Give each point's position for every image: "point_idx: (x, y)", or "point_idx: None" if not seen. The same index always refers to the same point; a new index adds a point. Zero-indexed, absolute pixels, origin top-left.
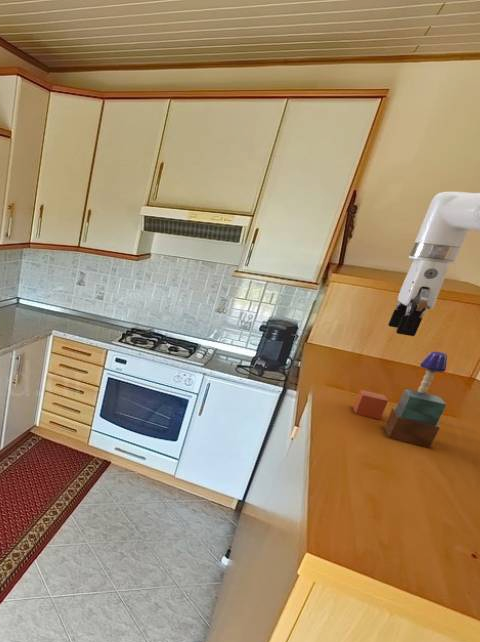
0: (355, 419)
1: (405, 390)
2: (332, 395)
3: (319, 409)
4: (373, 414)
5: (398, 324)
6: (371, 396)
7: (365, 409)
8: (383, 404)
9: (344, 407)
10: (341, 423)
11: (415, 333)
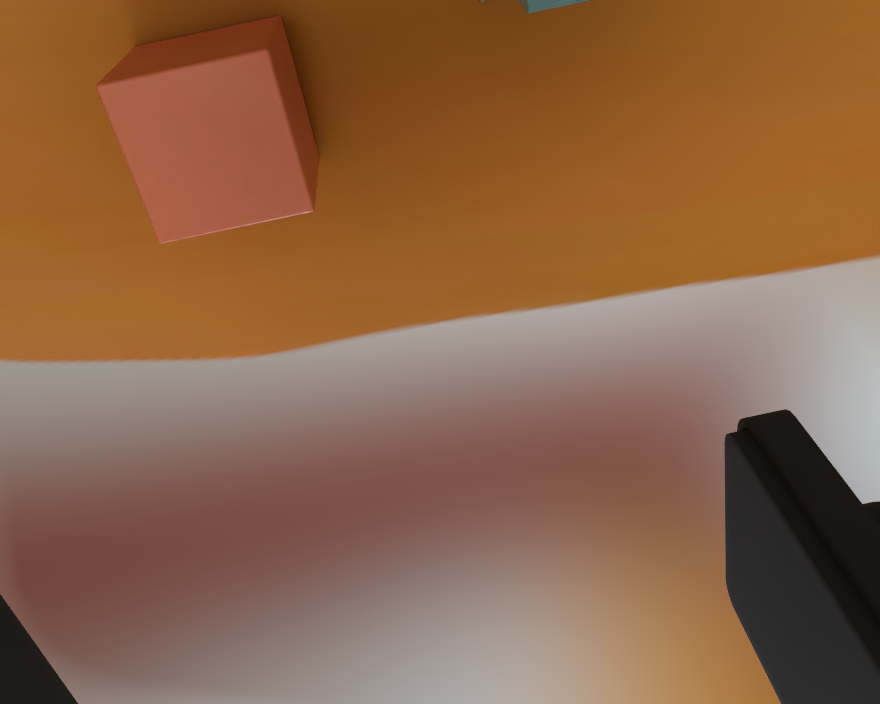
0: (454, 139)
1: (569, 4)
2: (28, 319)
3: (460, 315)
4: (293, 68)
5: (25, 698)
6: (284, 161)
7: (306, 129)
8: (276, 58)
9: None
10: (625, 188)
11: (802, 433)
